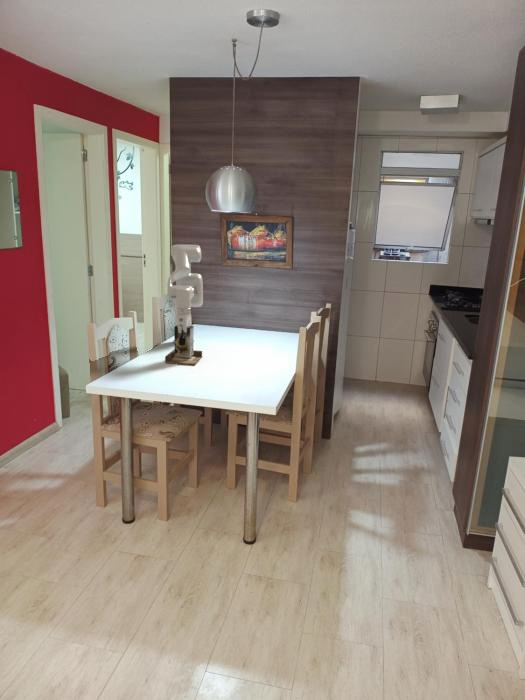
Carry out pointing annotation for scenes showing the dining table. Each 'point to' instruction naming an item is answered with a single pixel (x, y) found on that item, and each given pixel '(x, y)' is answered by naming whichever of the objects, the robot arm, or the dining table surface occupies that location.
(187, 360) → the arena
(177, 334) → the coffee box
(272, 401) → the dining table surface
